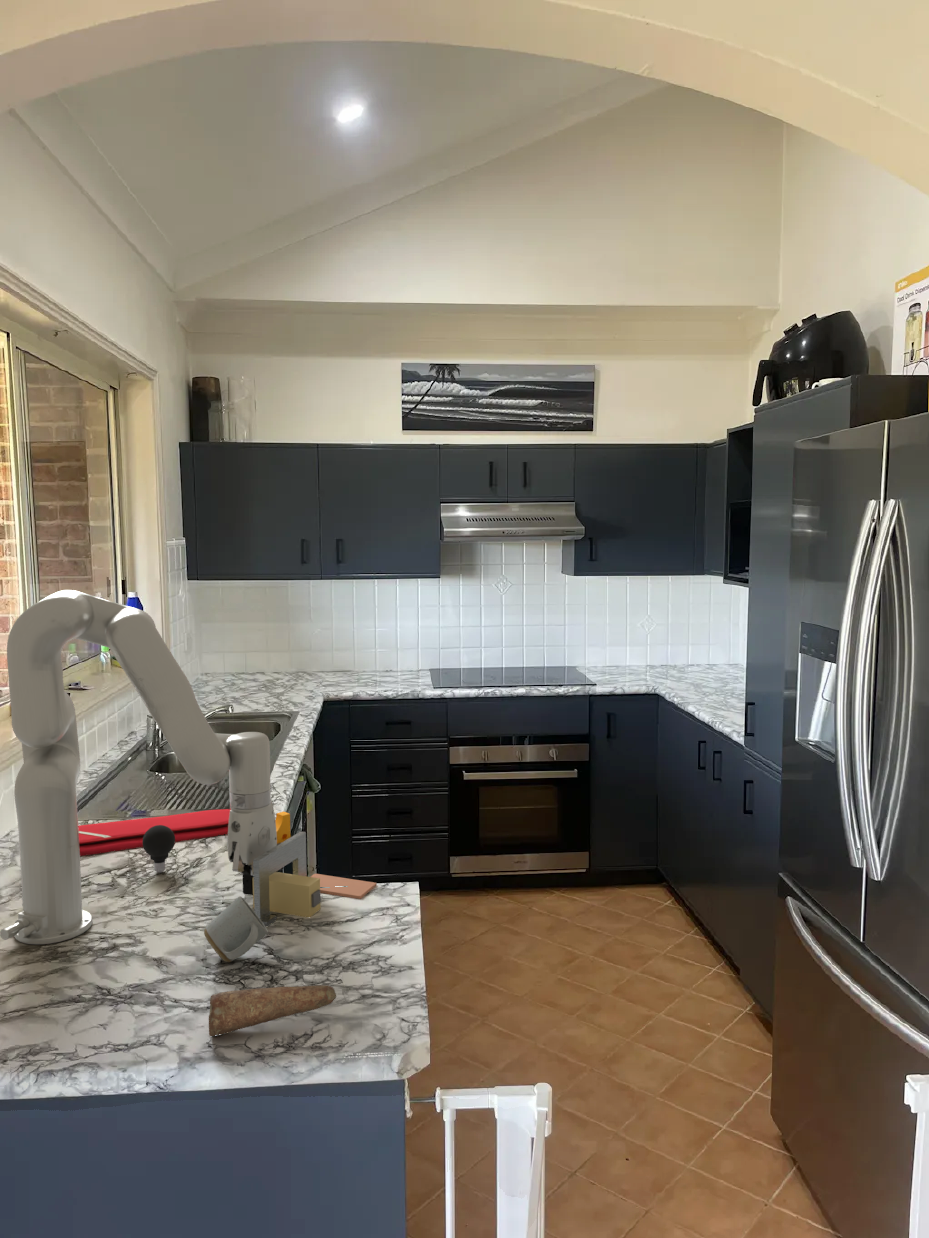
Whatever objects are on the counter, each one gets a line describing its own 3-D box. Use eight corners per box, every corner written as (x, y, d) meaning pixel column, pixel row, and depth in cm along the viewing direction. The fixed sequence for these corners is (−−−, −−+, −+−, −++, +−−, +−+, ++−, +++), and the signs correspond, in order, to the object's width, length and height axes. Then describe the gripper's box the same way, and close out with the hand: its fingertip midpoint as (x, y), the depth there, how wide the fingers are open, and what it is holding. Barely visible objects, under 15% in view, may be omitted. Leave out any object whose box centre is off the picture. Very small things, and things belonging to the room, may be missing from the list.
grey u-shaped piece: (267, 926, 159) (265, 861, 158) (248, 923, 160) (246, 858, 159) (313, 892, 174) (312, 833, 172) (295, 890, 175) (294, 830, 174)
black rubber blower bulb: (165, 864, 189) (163, 818, 188) (182, 872, 184) (180, 825, 184) (137, 873, 184) (135, 826, 183) (154, 881, 180) (152, 833, 179)
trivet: (360, 899, 171) (360, 896, 170) (296, 889, 175) (296, 886, 175) (376, 885, 177) (376, 882, 177) (314, 876, 182) (314, 873, 182)
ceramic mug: (227, 963, 148) (201, 925, 149) (269, 930, 151) (242, 893, 152) (225, 970, 138) (196, 929, 139) (269, 935, 141) (241, 895, 142)
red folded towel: (246, 834, 209) (245, 819, 209) (54, 863, 191) (53, 846, 191) (232, 815, 223) (231, 801, 223) (52, 840, 205) (51, 825, 205)
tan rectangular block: (311, 918, 162) (311, 886, 161) (253, 908, 166) (252, 877, 166) (322, 909, 166) (322, 878, 165) (265, 900, 170) (264, 870, 170)
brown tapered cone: (205, 1025, 127) (204, 984, 126) (330, 1001, 133) (329, 962, 133) (209, 1049, 121) (208, 1006, 120) (340, 1023, 127) (339, 982, 127)
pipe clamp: (279, 836, 206) (279, 809, 206) (290, 841, 203) (290, 813, 203) (233, 850, 198) (233, 821, 197) (244, 854, 195) (243, 826, 194)
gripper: (244, 812, 159) (246, 911, 161) (288, 790, 173) (290, 881, 175) (208, 808, 161) (211, 905, 163) (255, 786, 175) (257, 876, 177)
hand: (252, 892), depth 169 cm, fingers closed
